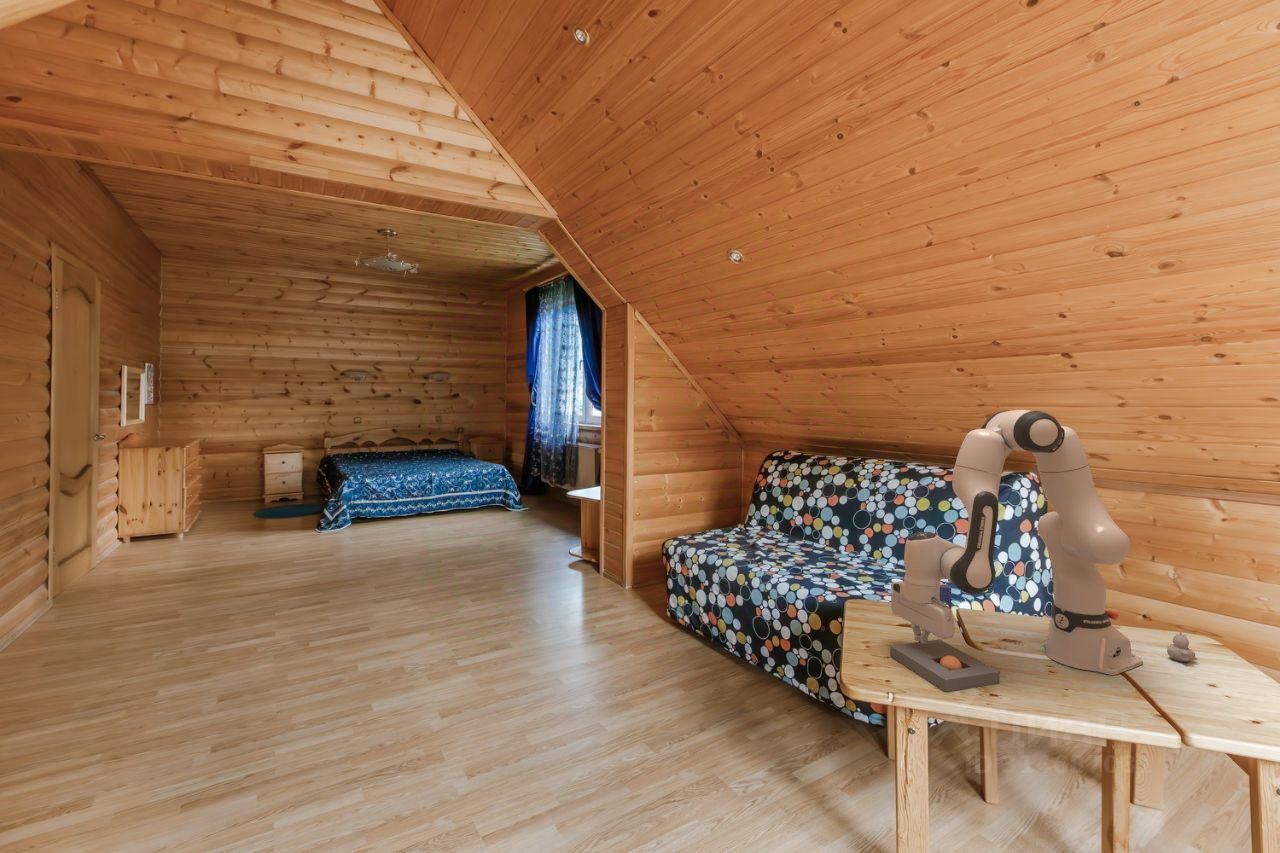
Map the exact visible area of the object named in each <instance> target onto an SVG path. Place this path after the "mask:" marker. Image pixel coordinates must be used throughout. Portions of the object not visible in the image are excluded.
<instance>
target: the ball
mask: <svg viewBox="0 0 1280 853" xmlns="http://www.w3.org/2000/svg"><path fill="white" fill-rule="evenodd" d="M940 665H942V666H943V667H945V668H947V669H948V670H956V669H962V665H961V663H960V661H959V660H958V659H957V658H955V657H953V656H944V657H943V658H942V659H941V660H940Z"/></svg>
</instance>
